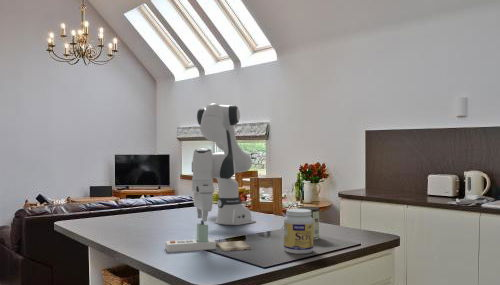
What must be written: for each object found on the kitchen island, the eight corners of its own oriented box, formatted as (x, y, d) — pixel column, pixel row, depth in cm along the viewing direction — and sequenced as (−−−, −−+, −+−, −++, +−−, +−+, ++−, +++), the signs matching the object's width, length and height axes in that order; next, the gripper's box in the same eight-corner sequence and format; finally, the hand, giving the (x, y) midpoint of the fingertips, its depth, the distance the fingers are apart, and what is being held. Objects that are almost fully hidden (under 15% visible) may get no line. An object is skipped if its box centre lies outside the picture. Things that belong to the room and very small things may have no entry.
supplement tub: (292, 255, 182) (292, 213, 182) (278, 249, 193) (278, 208, 193) (319, 253, 187) (319, 211, 187) (303, 246, 198) (304, 207, 198)
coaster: (242, 243, 204) (242, 240, 204) (250, 249, 193) (250, 246, 193) (216, 244, 200) (216, 242, 200) (223, 251, 189) (223, 248, 189)
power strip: (211, 245, 199) (211, 237, 199) (215, 248, 192) (215, 240, 192) (165, 248, 193) (165, 239, 193) (167, 252, 186) (167, 243, 186)
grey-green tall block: (205, 246, 197) (206, 219, 197) (207, 248, 193) (208, 221, 193) (196, 247, 196) (196, 219, 196) (198, 249, 192) (198, 221, 192)
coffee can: (299, 234, 223) (300, 205, 223) (320, 236, 220) (321, 207, 220) (294, 239, 213) (295, 208, 213) (316, 240, 210) (317, 209, 210)
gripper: (190, 184, 203) (190, 216, 203) (200, 189, 184) (199, 223, 183) (204, 184, 205) (204, 215, 205) (215, 188, 186) (215, 223, 185)
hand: (202, 219), depth 194 cm, fingers open, 8 cm apart
